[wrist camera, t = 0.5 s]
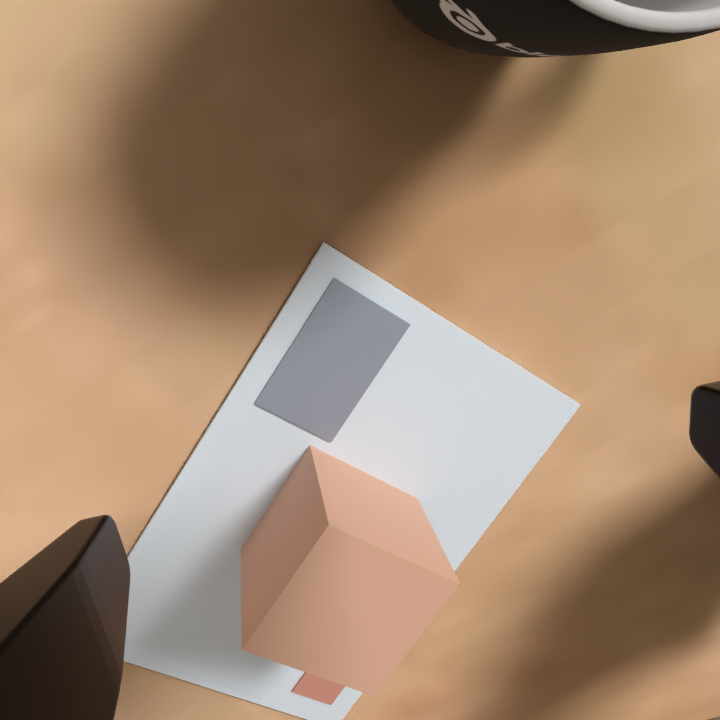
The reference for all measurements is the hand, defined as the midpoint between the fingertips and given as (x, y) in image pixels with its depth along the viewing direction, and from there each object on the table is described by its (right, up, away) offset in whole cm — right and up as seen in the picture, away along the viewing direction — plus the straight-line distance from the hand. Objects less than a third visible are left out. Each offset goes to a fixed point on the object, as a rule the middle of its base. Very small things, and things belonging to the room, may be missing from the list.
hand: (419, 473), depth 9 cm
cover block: (-2, -5, +15) cm, 15 cm away
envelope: (-2, -5, +15) cm, 16 cm away
